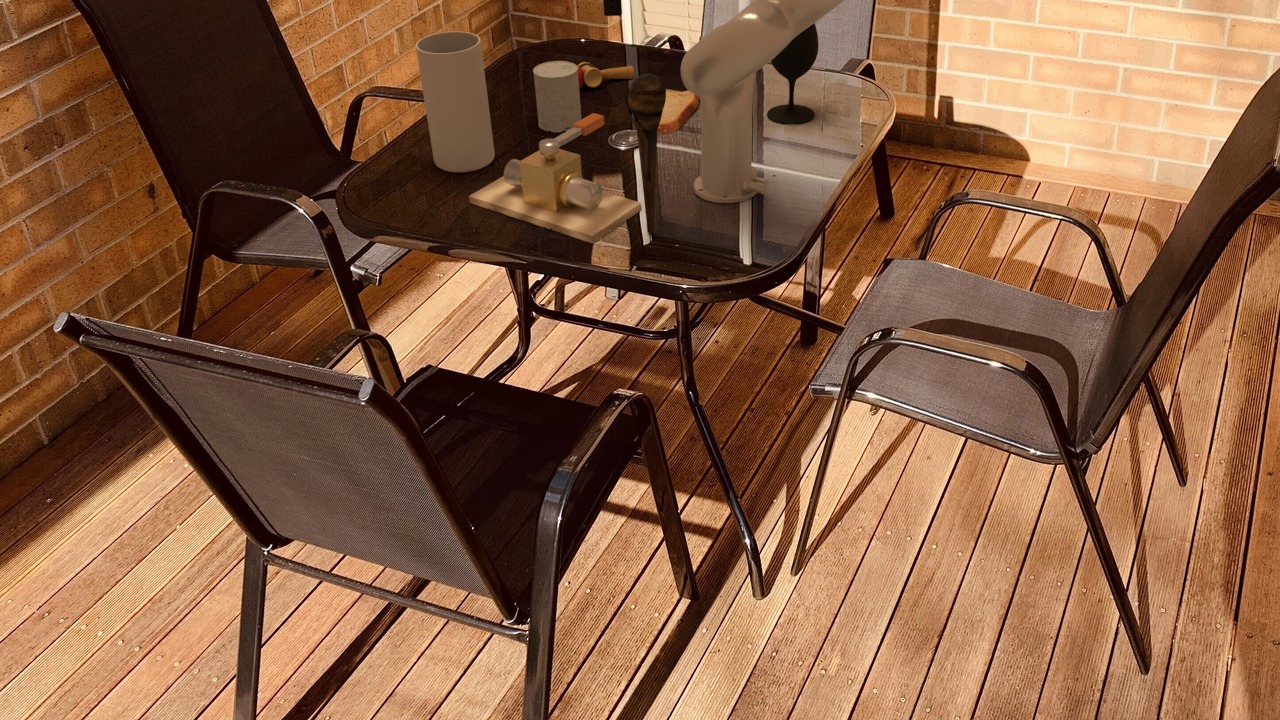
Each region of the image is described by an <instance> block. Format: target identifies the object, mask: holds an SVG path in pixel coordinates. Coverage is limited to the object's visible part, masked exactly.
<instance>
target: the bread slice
mask: <svg viewBox="0 0 1280 720" xmlns="http://www.w3.org/2000/svg"><path fill="white" fill-rule="evenodd" d="M665 89H666V101H665V105H664V108H663V112H662V117H661V120H660V124H659V127H657V132H659V133H662V134H661V135H670V134H673V133H675V132H677V131H678V130H679V129H681V128H682V127H683V125H685V124H684V123H686V122H687V121H688V120H689V118H691V116H692V115H693V114H694V112H695V111H696V109H697V108H698V105H699V101H700V99H701V97H699V96H696V95H694V94H693V93H691V92H690V91H689V90H688V89H687V90H683V91H679V90H674V89H667V88H665ZM687 119H688V120H687ZM686 120H687V121H686ZM681 126H682V127H681ZM659 133H658V134H659Z"/></svg>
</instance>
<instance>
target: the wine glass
mask: <svg viewBox="0 0 1280 720" xmlns="http://www.w3.org/2000/svg"><path fill="white" fill-rule="evenodd" d="M818 52H819V36H818V31H817V26H816V22H815V23H814V24H813V25H811V26H810V27H808V28H807V29H805V30H804V31H803V32H801V33H800V34H799V35H797V36H796V37H795V38H794V39H793V40H792V41H791V42H790V43H789V44H788V45H787V46H786V47H785V48H784V49H783V50H782V51H781V52H780V53H779V54H778V55H777V56H776V57H775V58H774V59H772V60H771V61H770V63H771V65H772V66H773V68H774V69H775V71H776V72H777V73H778V74H779V75H781V76H782V77H783V78H785V79H787V81H788V87H789V88H788V90H789V91H788V92H789V93H788V94H789V95H788V96H789V97H788V104H780V105H777V106H776V105H775V106H773V107H770V108H769V110H768V111H767V113H766V117H767V118H768V119H769V121H771V120H772V123H775V122H776V124H779V123H780V125H784V124H798V125H803V124H806V123H809V122H811V121H813V119H814V118H815V117H816V116H815V111H814V110H813V109H812V108H810V107H808V106H805V105H801V104H794V103H795V101H794V99H795V97H794V96H795V87H796V86H795V85H796V81H797V80H798V79H799V78H801V77H803V76H804V75H805V74H806V73H808V72H809V71H810V70H811V69H812V67H813V65H815V62H816V60H817V57H818Z"/></svg>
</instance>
